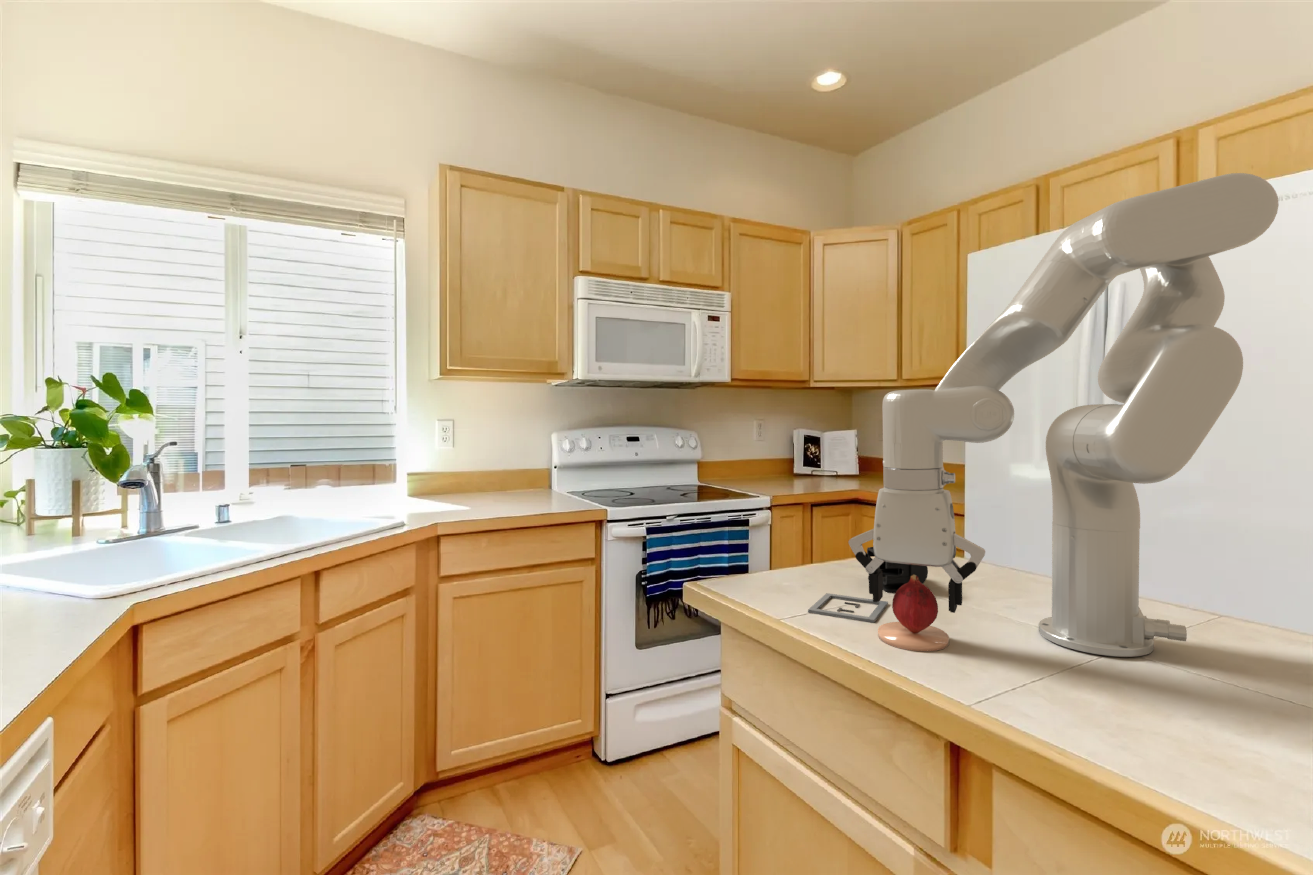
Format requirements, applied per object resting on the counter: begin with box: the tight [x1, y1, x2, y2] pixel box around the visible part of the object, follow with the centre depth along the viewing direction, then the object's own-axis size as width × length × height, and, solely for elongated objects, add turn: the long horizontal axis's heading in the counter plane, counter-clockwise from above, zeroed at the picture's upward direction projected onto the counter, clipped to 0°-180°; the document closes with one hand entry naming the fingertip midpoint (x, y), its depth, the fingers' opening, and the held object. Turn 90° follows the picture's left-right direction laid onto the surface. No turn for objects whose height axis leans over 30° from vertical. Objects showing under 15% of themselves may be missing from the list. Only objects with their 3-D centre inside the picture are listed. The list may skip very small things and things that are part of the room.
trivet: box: [877, 621, 950, 652], centre depth 84 cm, size 9×9×1 cm
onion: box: [891, 575, 939, 633], centre depth 84 cm, size 6×6×8 cm
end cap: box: [866, 546, 929, 594], centre depth 110 cm, size 10×7×7 cm
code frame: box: [807, 592, 889, 623], centre depth 98 cm, size 10×10×1 cm
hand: (914, 604), depth 84 cm, fingers open, 9 cm apart
